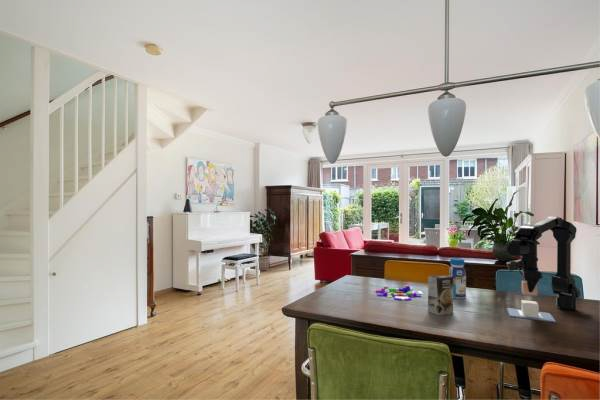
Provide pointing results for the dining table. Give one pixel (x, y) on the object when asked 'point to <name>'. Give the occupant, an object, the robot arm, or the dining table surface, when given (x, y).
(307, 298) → the dining table surface
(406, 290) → the building block set
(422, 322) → the dining table surface
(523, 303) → the cream block
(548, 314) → the board
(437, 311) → the coffee box
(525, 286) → the terracotta block
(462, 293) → the beverage bottle
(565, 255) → the robot arm
